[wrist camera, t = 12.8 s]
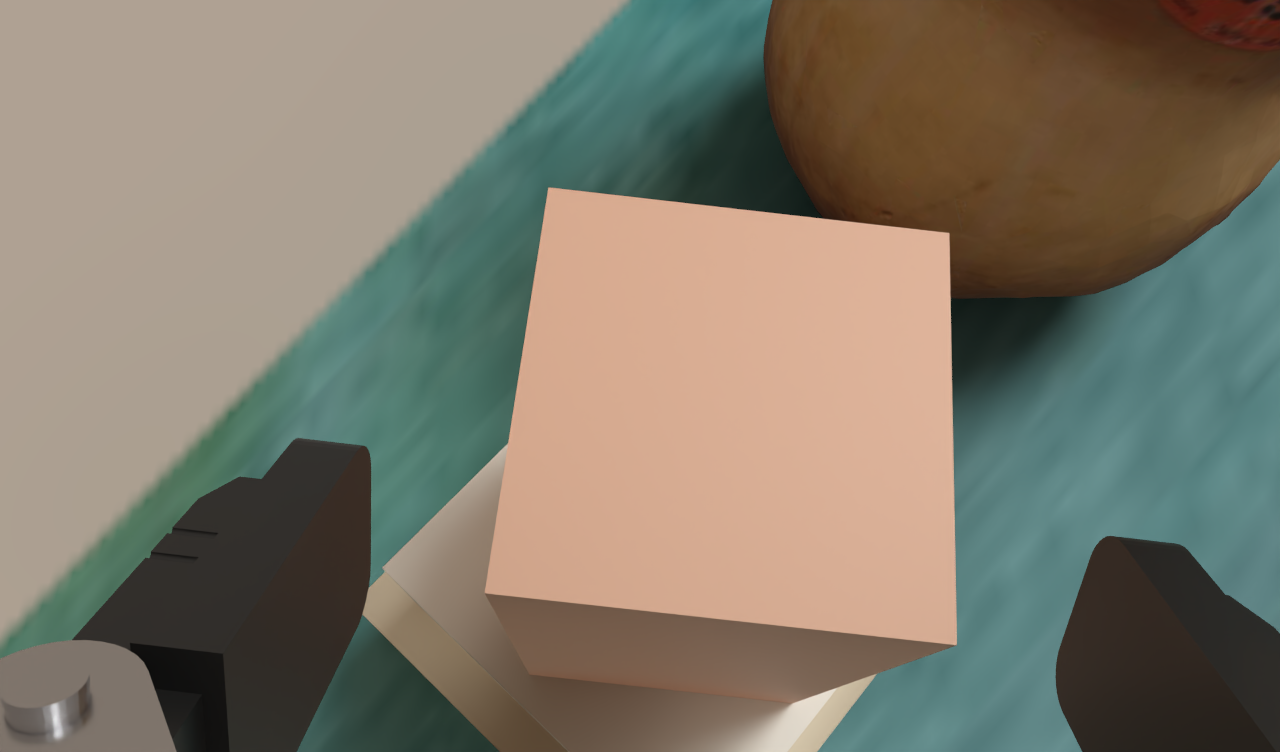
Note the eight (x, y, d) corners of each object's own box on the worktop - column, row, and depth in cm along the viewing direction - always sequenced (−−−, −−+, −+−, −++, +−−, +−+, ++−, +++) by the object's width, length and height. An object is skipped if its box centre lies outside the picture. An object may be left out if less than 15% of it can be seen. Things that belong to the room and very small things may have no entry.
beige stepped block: (902, 603, 28) (1018, 540, 20) (664, 907, 25) (698, 963, 17) (634, 374, 30) (651, 241, 22) (384, 628, 27) (307, 571, 19)
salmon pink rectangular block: (802, 451, 21) (949, 233, 12) (792, 703, 19) (957, 645, 11) (563, 424, 21) (548, 187, 12) (529, 674, 19) (484, 593, 10)
